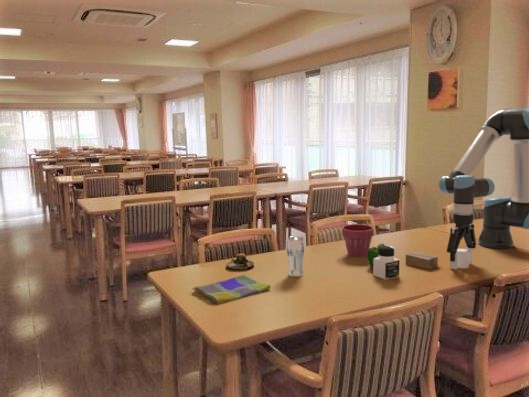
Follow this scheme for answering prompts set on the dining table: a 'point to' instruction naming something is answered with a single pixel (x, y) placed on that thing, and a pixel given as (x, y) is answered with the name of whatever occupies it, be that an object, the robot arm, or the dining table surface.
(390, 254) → the medicine bottle
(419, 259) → the walnut base block
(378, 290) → the dining table surface
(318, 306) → the dining table surface
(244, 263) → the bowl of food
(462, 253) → the white cup
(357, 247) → the plant pot
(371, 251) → the bell pepper
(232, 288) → the dish towel
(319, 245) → the dining table surface
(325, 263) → the dining table surface
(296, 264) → the beer glass
